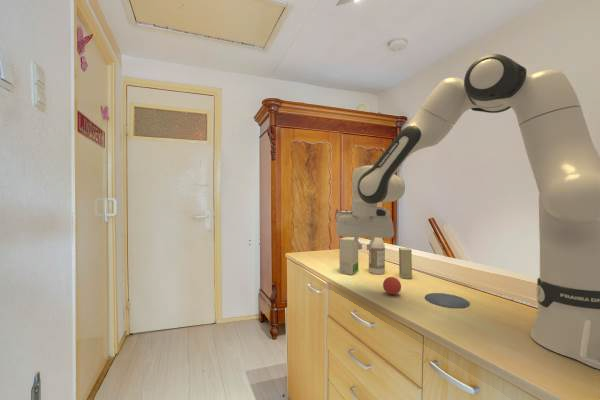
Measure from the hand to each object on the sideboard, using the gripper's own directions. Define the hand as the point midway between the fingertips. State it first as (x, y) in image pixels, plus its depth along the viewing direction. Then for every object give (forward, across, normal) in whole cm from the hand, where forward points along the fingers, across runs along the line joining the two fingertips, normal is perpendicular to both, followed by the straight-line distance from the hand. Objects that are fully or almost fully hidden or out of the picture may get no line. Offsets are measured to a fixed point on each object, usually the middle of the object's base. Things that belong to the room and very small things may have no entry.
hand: (364, 249), depth 99 cm
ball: (+12, +10, 0) cm, 15 cm away
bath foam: (+15, +2, +28) cm, 32 cm away
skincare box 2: (+15, +14, +25) cm, 33 cm away
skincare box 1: (+15, -10, +24) cm, 30 cm away
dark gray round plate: (+15, +26, 0) cm, 31 cm away
